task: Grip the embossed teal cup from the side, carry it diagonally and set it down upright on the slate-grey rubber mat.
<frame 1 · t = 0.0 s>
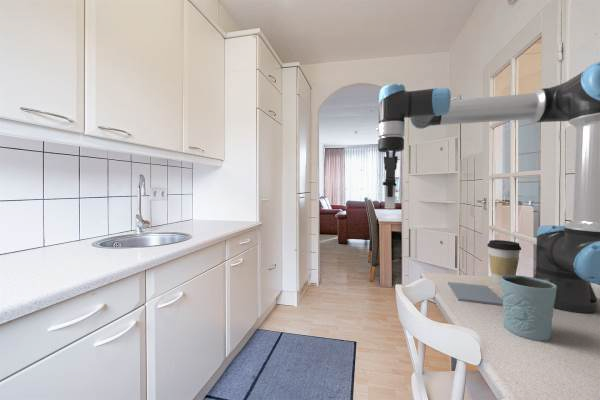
hand: (389, 207, 83), 28 cm above the table, tool pointing down, fingers open, 13 cm apart
embossed teal cup: (525, 331, 64), on the table
slate mat: (473, 293, 88), on the table
coffee cup: (502, 283, 98), on the table
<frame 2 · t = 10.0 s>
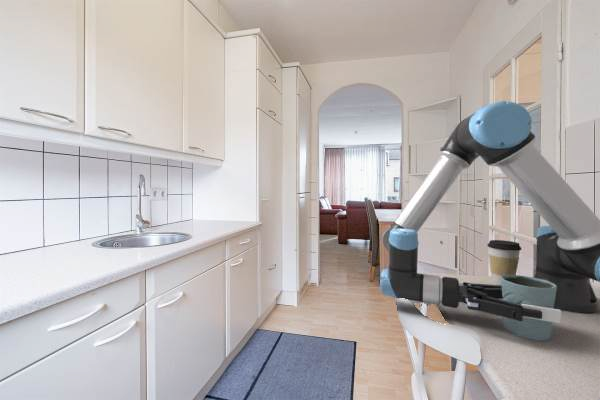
hand: (551, 307, 62), 7 cm above the table, tool horizontal, fingers closed on embossed teal cup, 9 cm apart
embossed teal cup: (525, 331, 64), on the table, touching gripper
everything else where it was.
when the fingers open (8 cm above the table, at t = 19.0 s): embossed teal cup drops 1 cm, resting on slate mat.
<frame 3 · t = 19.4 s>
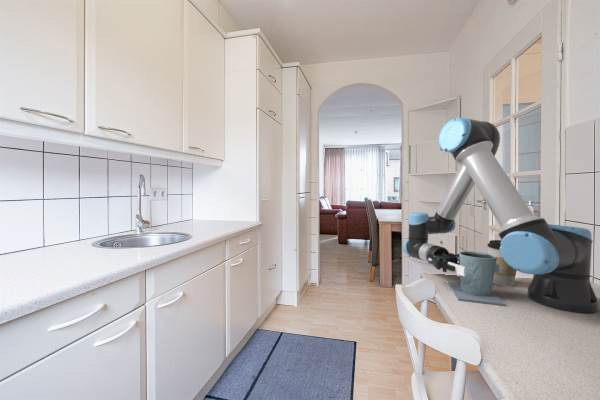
hand: (483, 270, 84), 8 cm above the table, tool horizontal, fingers open, 13 cm apart
embossed teal cup: (476, 291, 88), resting on slate mat
everything else where it was.
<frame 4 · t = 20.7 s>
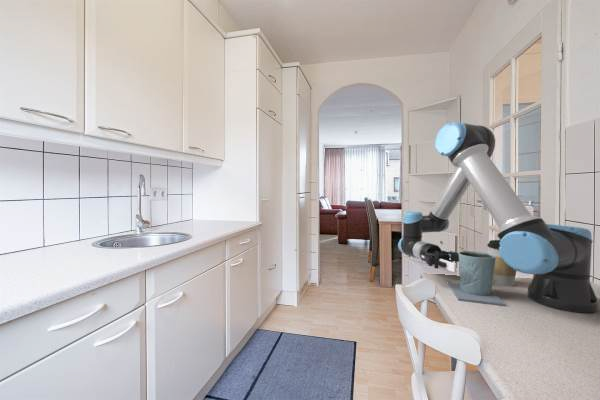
hand: (473, 266, 88), 9 cm above the table, tool horizontal, fingers open, 13 cm apart
embossed teal cup: (475, 291, 88), resting on slate mat, touching gripper
everything else where it was.
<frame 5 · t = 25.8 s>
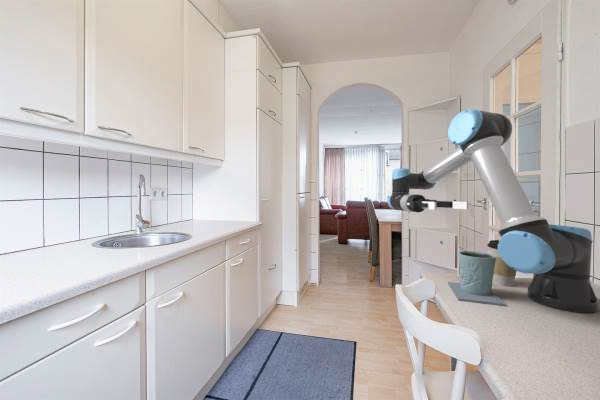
hand: (451, 205, 96), 28 cm above the table, tool horizontal, fingers open, 13 cm apart
embossed teal cup: (475, 291, 88), resting on slate mat
everything else where it was.
at the end: embossed teal cup inside the target area on the slate mat (1.7 cm from its centre), point 0.4 cm above the slate mat's base; embossed teal cup tilted 0°; the gripper is holding nothing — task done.
